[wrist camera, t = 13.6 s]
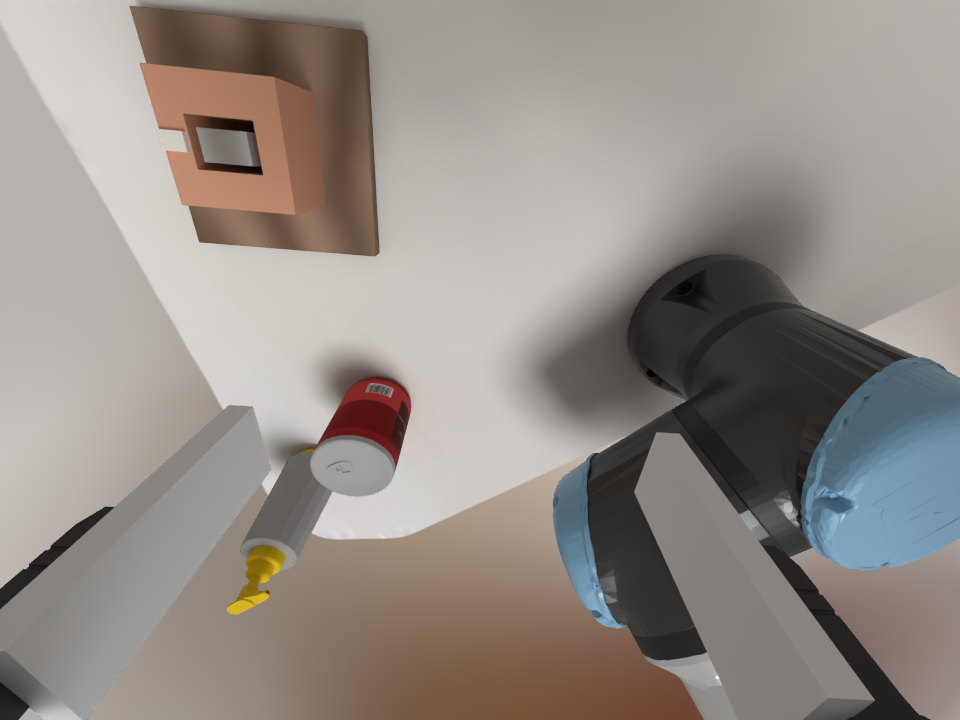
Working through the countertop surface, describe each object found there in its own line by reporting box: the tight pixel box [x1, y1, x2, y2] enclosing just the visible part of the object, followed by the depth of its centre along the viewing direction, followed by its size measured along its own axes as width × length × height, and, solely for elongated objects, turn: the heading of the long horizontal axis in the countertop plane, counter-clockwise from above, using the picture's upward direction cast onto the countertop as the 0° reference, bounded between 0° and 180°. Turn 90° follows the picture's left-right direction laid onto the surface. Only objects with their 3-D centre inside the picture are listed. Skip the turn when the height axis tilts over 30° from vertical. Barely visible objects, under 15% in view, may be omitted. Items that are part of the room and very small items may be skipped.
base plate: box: [130, 6, 379, 256], centre depth 27 cm, size 16×16×8 cm
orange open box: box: [140, 63, 326, 215], centre depth 26 cm, size 8×8×6 cm
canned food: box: [310, 377, 411, 496], centre depth 39 cm, size 8×8×11 cm
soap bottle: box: [227, 449, 332, 614], centre depth 41 cm, size 7×7×18 cm
